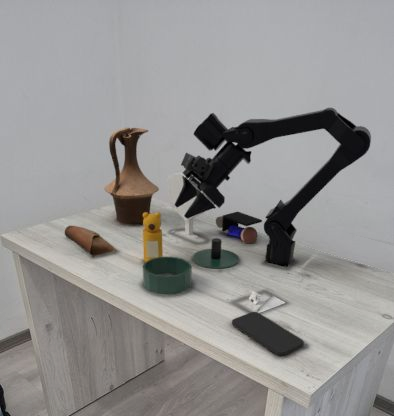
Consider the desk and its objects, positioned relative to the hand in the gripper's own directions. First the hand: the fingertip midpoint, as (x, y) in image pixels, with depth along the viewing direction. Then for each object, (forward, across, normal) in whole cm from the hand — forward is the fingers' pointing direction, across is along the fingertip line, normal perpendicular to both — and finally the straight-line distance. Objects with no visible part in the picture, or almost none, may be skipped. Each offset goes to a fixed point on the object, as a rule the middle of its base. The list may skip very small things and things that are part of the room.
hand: (180, 211), depth 119 cm
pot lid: (+3, +4, +15) cm, 16 cm away
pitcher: (+14, -34, +5) cm, 37 cm away
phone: (+4, +42, +14) cm, 45 cm away
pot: (+14, +14, +4) cm, 21 cm away
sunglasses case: (+25, -16, -7) cm, 31 cm away
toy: (+15, 0, +4) cm, 15 cm away
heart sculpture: (+4, -16, +14) cm, 22 cm away
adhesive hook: (+2, +29, +17) cm, 34 cm away
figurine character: (-5, -11, +24) cm, 27 cm away
